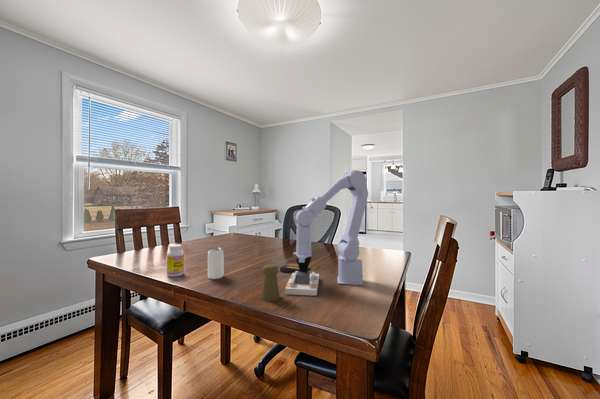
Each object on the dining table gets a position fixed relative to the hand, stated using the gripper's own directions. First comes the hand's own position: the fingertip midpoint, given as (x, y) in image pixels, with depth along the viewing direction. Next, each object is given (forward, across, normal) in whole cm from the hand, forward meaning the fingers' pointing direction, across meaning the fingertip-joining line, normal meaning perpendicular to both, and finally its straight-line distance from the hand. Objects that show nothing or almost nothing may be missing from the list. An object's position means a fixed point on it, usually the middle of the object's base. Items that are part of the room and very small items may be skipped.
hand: (303, 276), depth 97 cm
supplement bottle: (+3, -5, -57) cm, 57 cm away
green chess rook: (+3, +14, -10) cm, 17 cm away
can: (+3, -4, -38) cm, 38 cm away
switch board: (+3, +2, 0) cm, 3 cm away
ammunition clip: (+2, -13, -8) cm, 15 cm away
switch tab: (+1, +3, 0) cm, 3 cm away
